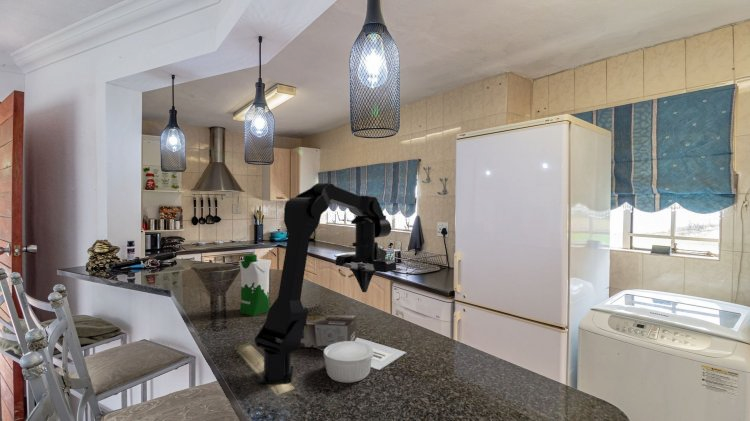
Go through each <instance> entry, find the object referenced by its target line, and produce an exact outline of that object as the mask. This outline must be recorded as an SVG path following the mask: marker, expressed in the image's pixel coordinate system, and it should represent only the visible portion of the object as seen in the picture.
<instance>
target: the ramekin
mask: <svg viewBox="0 0 750 421" xmlns="http://www.w3.org/2000/svg"><path fill="white" fill-rule="evenodd" d="M322 353H323V354H322V355H323V359H324V363H325V371H326V374H327V375H328V377H330V379H331V380H333V381H335V382H338V383H356V382H359V381H362V380H364V379H365V378H366V377H368V375H369V374H370V373H371V372H370V371H371V361H372V357H373V349H372V347H371V346H369V345H367V344H365V343H362V342H356V341H344V342H338V343H334V344H331V345H329V346H328V347H326V348H325V349H324V351H323V352H322Z"/></svg>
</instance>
